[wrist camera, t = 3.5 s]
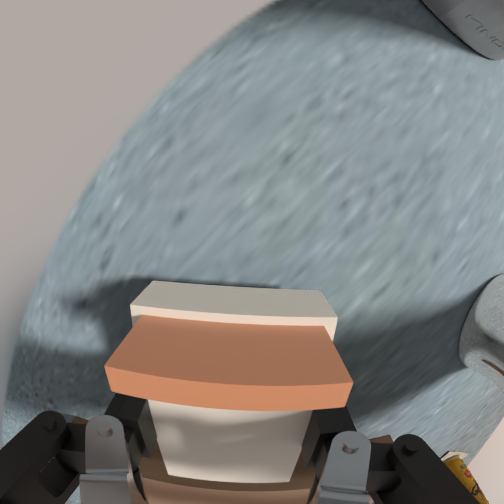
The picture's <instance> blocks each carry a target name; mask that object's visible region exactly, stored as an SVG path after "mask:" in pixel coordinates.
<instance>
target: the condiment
mask: <svg viewBox="0 0 504 504" xmlns="http://www.w3.org/2000/svg"><path fill="white" fill-rule="evenodd" d="M467 455H468V454H466V453H462V452H451V451H450V452H449V453H448V454H447V455H445V456H444V457H443V458H441V460H442V461H443V462H444V464H445V465H446V466H447V467H448V468H449V469H450V470H451V471H452V472H453V474H454V475H455V476H456V477H457V478H458V479H459V480H460V481H461V483H462V484H463V485H464V486H465V487H466V488H467V489H468V490H469V491H470V493H471V494H472V495H473V496H474V497H475V498H476V499H477V500H478V502H479V503H480V504H489V503H488V501H487V500H486V498H485V496H484V494H483V493H482V491H481V489H480V488H479V486H478V484H477V482H476V481H475V479H474V477H473V476H472V474H471V473H470V471H469V470H468V469H467V466H466V465H465V464H464V462H463V460H462V459H463V458H464V457H465V456H467Z"/></svg>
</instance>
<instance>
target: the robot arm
mask: <svg viewBox="0 0 504 504" xmlns="http://www.w3.org/2000/svg"><path fill="white" fill-rule="evenodd" d="M422 1H423V2H424V4H425V5H426V6H427V7H428V8H429V9H430V10H431V11H432V12H433V13H434V14H435V15H436V16H437V17H438V18H439V19H440V20H441V21H442V22H443V23H444V24H445V25H446V26H447V27H448V28H449V29H450V30H451V31H452V32H454V33H455V34H456V35H457V36H458V37H459V38H461V39H462V40H463V41H464V42H465V43H466V44H468V45H469V46H470V47H472V48H473V49H474V50H476V51H477V52H479V53H480V54H482V55H484V56H485V57H487V58H490V59H493V60H501V59H504V0H422ZM156 439H157V434H156V430H155V426H154V423H153V419H152V415H151V411H150V407H149V403H148V399H143V398H138V397H134V396H129V395H125V394H120V393H116V394H115V396H114V398H113V400H112V401H111V403H110V405H109V407H108V408H107V410H106V412H105V414H104V415H100V416H96V417H94V418H92V419H91V420H90V421H89V422H88V423H87V424H77V423H67V422H66V420H65V419H64V417H63V416H62V415H61V414H60V413H58V412H55V411H45V412H42V413H40V414H39V415H38V416H36V417H35V418H34V419H33V420H32V421H31V422H30V423H29V424H28V425H27V426H25V427H24V428H23V429H22V430H21V431H20V432H19V433H18V434H17V435H16V436H15V437H14V438H12V439H11V440H10V441H9V442H8V443H7V444H6V445H5V446H4V447H3V448H2V449H1V450H0V504H65V502H66V501H67V500H68V499H69V497H70V496H71V495H72V493H73V492H74V491H75V489H76V488H77V487H78V486H79V484H80V498H81V504H149V502H148V498H147V494H146V490H145V486H144V482H143V477H142V473H141V468H140V465H139V463H140V460H141V457H142V456H143V457H147V458H151V455H152V452H153V449H154V445H155V442H156ZM301 446H302V451H303V456H304V461H305V466H306V468H315V472H316V475H315V477H314V479H313V482H312V485H311V488H310V491H309V494H308V497H307V499H306V502H305V504H369V501H370V496H371V498H372V500H373V501H374V503H375V504H480V503H479V502H478V500H477V499H476V498H475V497H474V496H473V495H472V494H471V493H470V491H469V490H468V489H467V488H466V487H465V486H464V485H463V484H462V483H461V481H460V480H459V479H458V478H457V477H456V476H455V475H454V474H453V472H452V471H451V470H450V469H449V468H448V467H447V466H446V465H445V464H444V462H443V461H442V460H441V459H440V458H439V457H438V456H437V455H436V454H435V452H434V451H433V450H432V449H431V448H430V447H429V446H428V445H427V444H426V442H425V441H424V440H423V439H422V438H420V437H418V436H416V435H412V434H406V435H402V436H400V437H398V438H397V439H396V440H395V441H394V443H393V444H392V443H374V442H370V441H369V439H368V438H367V437H366V436H365V435H363V434H361V433H359V432H357V431H356V429H355V426H354V424H353V421H352V419H351V417H350V414H349V412H348V409H347V407H346V405H345V407H340V408H329V409H316V410H313V411H312V415H311V418H310V421H309V424H308V427H307V430H306V433H305V436H304V439H303V442H302V445H301ZM51 459H52V460H51ZM50 460H51V461H50ZM49 461H50V462H49ZM42 469H43V470H42ZM41 470H42V471H41ZM40 471H41V472H40ZM366 491H367V492H368V493H366Z"/></svg>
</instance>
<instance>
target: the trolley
mask: <svg viewBox="0 0 504 504" xmlns="http://www.w3.org/2000/svg"><path fill="white" fill-rule="evenodd" d="M130 309H131V317H132V325H133V328H132V329H131V330H130V332H129V333H128V334H127V336H126V337H125V338H124V339H123V341H122V342H121V343H120V345H119V346H118V348H117V349H116V350H115V352H114V353H113V354H112V356H111V357H110V358H109V360H108V361H107V362H106V364H105V365H104V367H105V371H106V374H107V378H108V381H109V385H110V388H111V391H112V392H116V393H120V394H125V395H129V396H134V397H138V398H143V399H148V403H149V407H150V411H151V415H152V419H153V423H154V426H155V430H156V434H157V442H158V445H159V448H160V451H161V454H162V457H163V460H164V463H165V466H166V469H167V472H168V475H173V476H179V477H186V478H193V479H200V480H210V481H221V482H239V483H277V482H289V481H290V478H291V476H292V473H293V471H294V468H295V466H296V463H297V460H298V458H299V455H300V452H301V449H302V446H301V445H302V442H303V439H304V436H305V433H306V430H307V427H308V424H309V421H310V418H311V415H312V411H313V410H316V409H329V408H340V407H345V404H346V402H347V399H348V396H349V394H350V391H351V388H352V385H353V380H352V378H351V376H350V374H349V373H348V371H347V369H346V367H345V365H344V363H343V361H342V359H341V357H340V355H339V353H338V351H337V349H336V347H335V346H334V344H333V338H334V334H335V329H336V324H337V320H338V317H337V315H336V314H335V312H334V311H333V309H332V308H331V306H330V305H329V303H328V302H327V300H326V299H325V297H324V296H323V294H322V293H321V291H320V290H294V289H270V288H251V287H233V286H218V285H203V284H189V283H177V282H165V281H152V282H151V283H150V284H149V285H148V286H147V287H146V288H145V289H144V290H143V291H142V292H141V294H140V295H139V296H138V297H137V298H136V299H135V300H134V301H133V302H132V303H131V304H130Z"/></svg>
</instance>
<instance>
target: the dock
mask: <svg viewBox="0 0 504 504" xmlns="http://www.w3.org/2000/svg"><path fill="white" fill-rule="evenodd" d="M88 422H89V421H87V420H84V419H81V418H78V417H75V418H74V420H73V422H72V423H77V424H87V423H88ZM369 441H370V442H374V443H392V444H393V443H394V442H393V440H392V438H391V436H390V435H388V436H384V437H379V438H375V439H370V440H369ZM139 465H140V468H141V473H142V477H143V482H144V486H145V490H146V494H147V498H148V502H149V504H305V502H306V499H307V497H308V494H309V491H310V488H311V485H312V482H313V479H314V477H315V475H316V472H315V468H306V466H305V461H304V456H303V451H302V449H301V452H300V455H299V458H298V460H297V463H296V466H295V468H294V471H293V473H292V476H291V478H290V481H289V482H277V483H239V482H221V481H210V480H200V479H193V478H186V477H179V476H173V475H168V472H167V469H166V466H165V463H164V460H163V457H162V454H161V451H160V448H159V445H158V442H157V440H156V442H155V445H154V449H153V452H152V455H151V458H147V457H143V456H142V457H141V460H140V463H139ZM366 493H368V492H367V491H366ZM373 502H374V501H373V500H372V498H371V496H370V501H369V504H372V503H373Z"/></svg>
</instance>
